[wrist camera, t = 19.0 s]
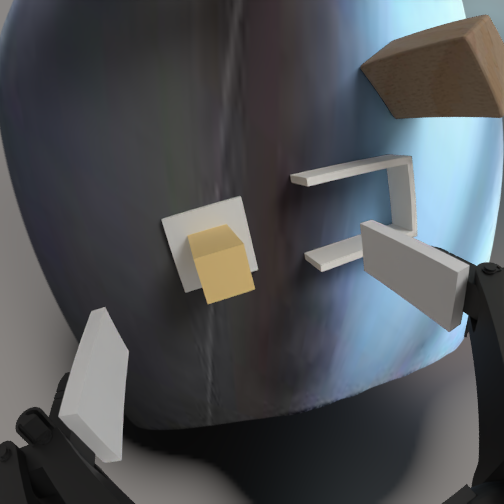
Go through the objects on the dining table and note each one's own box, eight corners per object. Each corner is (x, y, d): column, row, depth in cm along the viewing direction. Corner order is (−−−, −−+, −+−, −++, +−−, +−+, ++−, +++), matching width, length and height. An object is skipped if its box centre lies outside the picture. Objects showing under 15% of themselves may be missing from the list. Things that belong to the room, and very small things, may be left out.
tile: (161, 218, 36) (161, 219, 35) (239, 195, 38) (240, 196, 37) (185, 290, 39) (185, 292, 39) (256, 268, 41) (258, 269, 41)
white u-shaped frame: (289, 175, 39) (306, 178, 34) (389, 154, 41) (411, 155, 37) (305, 259, 43) (321, 271, 38) (396, 227, 46) (417, 235, 41)
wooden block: (394, 120, 40) (503, 119, 22) (357, 67, 36) (465, 37, 18) (423, 89, 40) (521, 83, 21) (391, 40, 36) (488, 13, 17)
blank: (187, 235, 37) (193, 259, 29) (226, 223, 38) (243, 243, 29) (198, 272, 39) (207, 304, 30) (235, 260, 39) (255, 289, 31)
